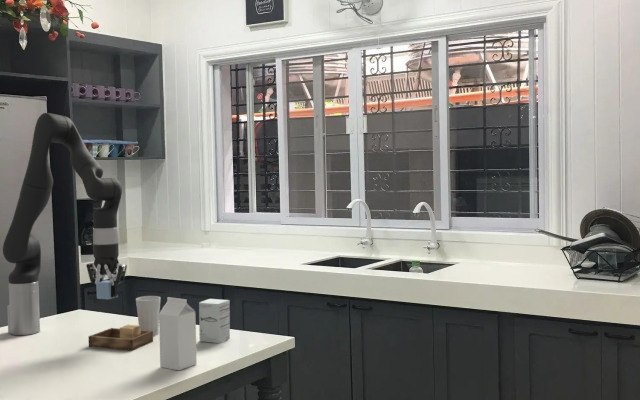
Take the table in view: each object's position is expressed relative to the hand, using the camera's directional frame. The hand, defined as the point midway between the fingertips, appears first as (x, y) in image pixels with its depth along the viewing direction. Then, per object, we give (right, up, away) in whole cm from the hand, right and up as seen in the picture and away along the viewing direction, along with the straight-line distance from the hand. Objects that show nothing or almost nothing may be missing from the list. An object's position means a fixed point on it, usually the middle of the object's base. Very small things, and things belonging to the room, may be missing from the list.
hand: (107, 296), depth 222 cm
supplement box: (+33, -15, +4) cm, 36 cm away
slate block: (0, 0, 0) cm, 0 cm away
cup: (+10, -15, +14) cm, 22 cm away
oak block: (+7, -14, 0) cm, 16 cm away
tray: (+4, -15, +1) cm, 16 cm away
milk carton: (+27, -16, -24) cm, 40 cm away
